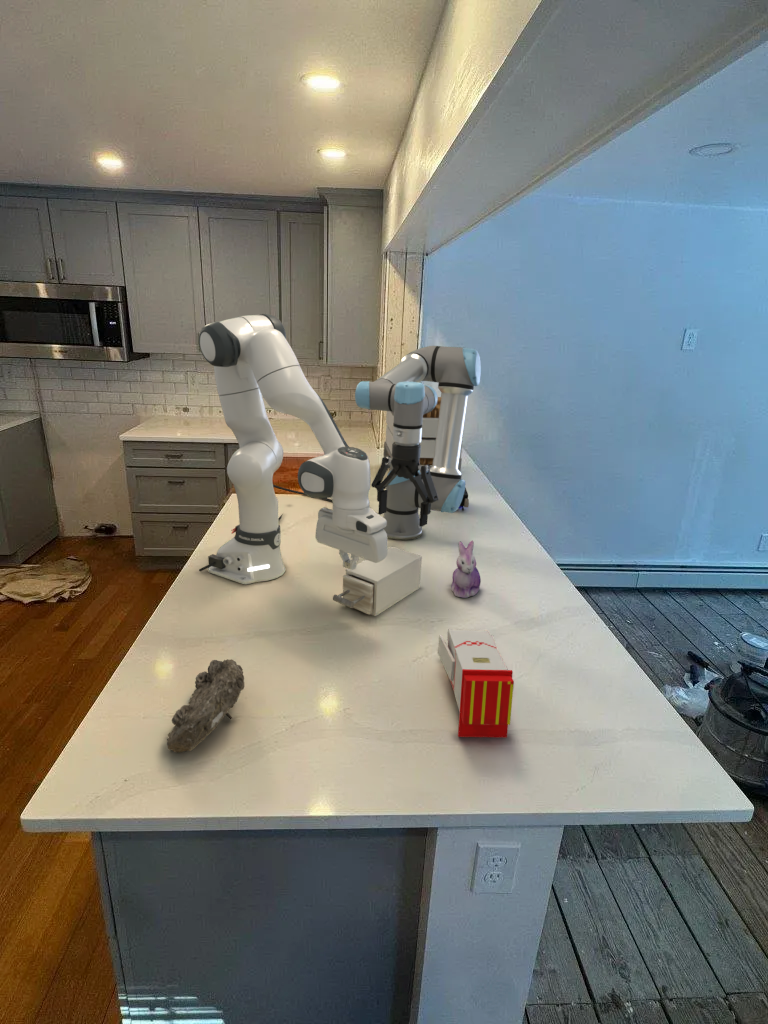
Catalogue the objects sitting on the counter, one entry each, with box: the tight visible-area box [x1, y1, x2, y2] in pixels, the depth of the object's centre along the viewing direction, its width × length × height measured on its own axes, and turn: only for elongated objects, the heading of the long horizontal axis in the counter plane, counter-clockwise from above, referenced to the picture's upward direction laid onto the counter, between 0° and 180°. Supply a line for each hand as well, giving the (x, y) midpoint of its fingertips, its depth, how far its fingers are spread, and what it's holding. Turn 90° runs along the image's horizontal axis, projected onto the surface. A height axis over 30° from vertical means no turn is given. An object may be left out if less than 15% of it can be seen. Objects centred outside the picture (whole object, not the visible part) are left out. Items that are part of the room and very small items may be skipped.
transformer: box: [383, 392, 466, 472], centre depth 268 cm, size 34×33×41 cm
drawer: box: [332, 574, 374, 616], centre depth 151 cm, size 25×9×8 cm, turn 143°
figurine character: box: [458, 486, 470, 512], centre depth 229 cm, size 7×8×15 cm
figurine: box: [450, 540, 482, 599], centre depth 158 cm, size 9×10×15 cm
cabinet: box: [345, 545, 423, 617], centre depth 155 cm, size 21×10×10 cm, turn 143°
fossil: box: [166, 658, 245, 754], centre depth 106 cm, size 22×10×15 cm
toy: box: [437, 628, 515, 738], centre depth 117 cm, size 12×13×30 cm
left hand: (349, 567), depth 140 cm, fingers closed
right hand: (402, 519), depth 155 cm, fingers open, 13 cm apart
